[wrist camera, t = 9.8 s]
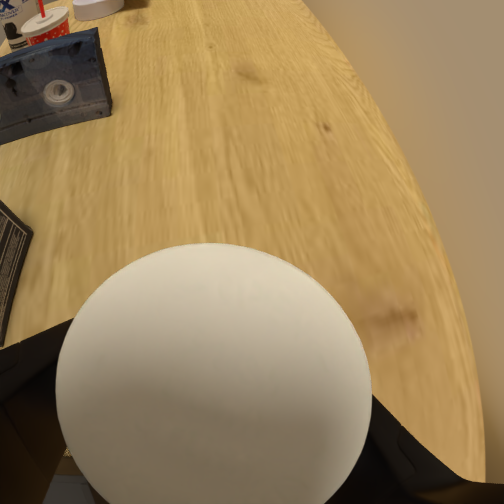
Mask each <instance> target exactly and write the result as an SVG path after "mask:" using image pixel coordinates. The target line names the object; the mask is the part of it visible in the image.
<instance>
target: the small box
mask: <svg viewBox="0 0 504 504" xmlns="http://www.w3.org/2000/svg"><path fill="white" fill-rule="evenodd" d="M32 234H33V232H32V230H31V228H30V227H29V226H27V225H25V224H24V223H23V222H22V221H21V220H20V219H19V218H18V217H17V216H16V215H15V214H14V213H13V212H12V211H11V210H10V209H9V208H8V207H7V206H6V205H5V204H4V203H3V202H2V201H1V200H0V347H2V346H3V341H4V336H5V331H6V326H7V321H8V317H9V312H10V308H11V304H12V299H13V295H14V292H15V287H16V284H17V280H18V277H19V273H20V270H21V267H22V263H23V260H24V257H25V254H26V251H27V248H28V245H29V242H30V239H31V236H32Z"/></svg>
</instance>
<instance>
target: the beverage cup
mask: <svg viewBox="0 0 504 504" xmlns="http://www.w3.org/2000/svg"><path fill="white" fill-rule="evenodd" d="M38 3H39V8H40V12H41V13H40V14H38V15H36V16H34V17H33V18H31V19H30V20H28V21H27V22H26V23H25V24H24V25H23V26H22V28H21V33H22V36H24V37H25V38H26V40H27V43H28V45H29V46H32V45H35V44H38V43H41V42H43V41H46V40H49V39H53V38H57V37H60V36H63V35H67V34H70V32H69V25H68V17H69V10H68V7H65V6H62V7H55V8H52V9H49V10H46V11H44V7H43V2H42V0H38Z"/></svg>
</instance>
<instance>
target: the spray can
mask: <svg viewBox="0 0 504 504" xmlns="http://www.w3.org/2000/svg"><path fill="white" fill-rule="evenodd" d="M40 13H41V12H40V8H39V3H38V0H0V17H1V21H2V24H3V27H4V30H5V33H6V36H7V39H8V42H9V45H10V48H11V51H12V52H15V51H17V50H20V49H23V48H26V47H29V45H28V43H27V40H26V38H25V37H24V36H22V33H21V28H22V26H23V25H24V24H25V23H26V22H27V21H28V20H30V19H31V18H33V17H34V16H36V15H38V14H40Z"/></svg>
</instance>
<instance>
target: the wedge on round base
mask: <svg viewBox="0 0 504 504" xmlns="http://www.w3.org/2000/svg"><path fill="white" fill-rule="evenodd" d="M123 6H124V0H73V8H74V14H75V18H76V19H77V20H79V21H89V20H95V19H99V18H102V17H105V16H108V15H111V14H113V13H115V12H117V11H118V10H120V9H121V8H122V7H123Z"/></svg>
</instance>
